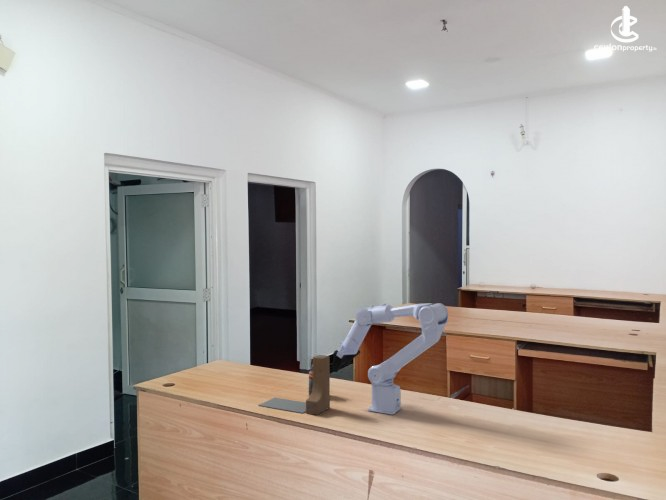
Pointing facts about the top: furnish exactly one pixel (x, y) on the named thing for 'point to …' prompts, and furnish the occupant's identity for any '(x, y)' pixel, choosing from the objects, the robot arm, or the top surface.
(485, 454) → the top surface
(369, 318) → the robot arm
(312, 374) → the supplement bottle
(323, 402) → the wooden block
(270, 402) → the mat
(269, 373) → the top surface
